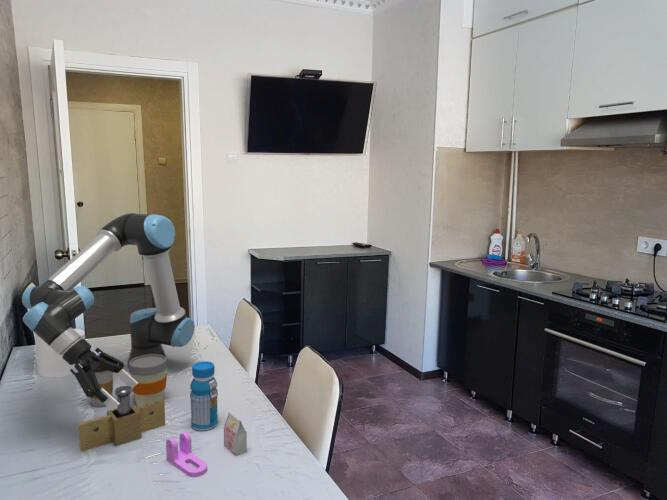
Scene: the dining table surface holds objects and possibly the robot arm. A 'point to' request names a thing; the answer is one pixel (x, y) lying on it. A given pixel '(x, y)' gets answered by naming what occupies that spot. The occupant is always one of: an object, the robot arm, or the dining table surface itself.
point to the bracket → (184, 456)
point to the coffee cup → (103, 384)
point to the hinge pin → (123, 400)
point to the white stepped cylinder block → (52, 359)
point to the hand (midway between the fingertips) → (125, 396)
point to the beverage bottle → (203, 396)
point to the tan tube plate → (121, 426)
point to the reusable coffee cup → (148, 378)
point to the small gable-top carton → (235, 435)
